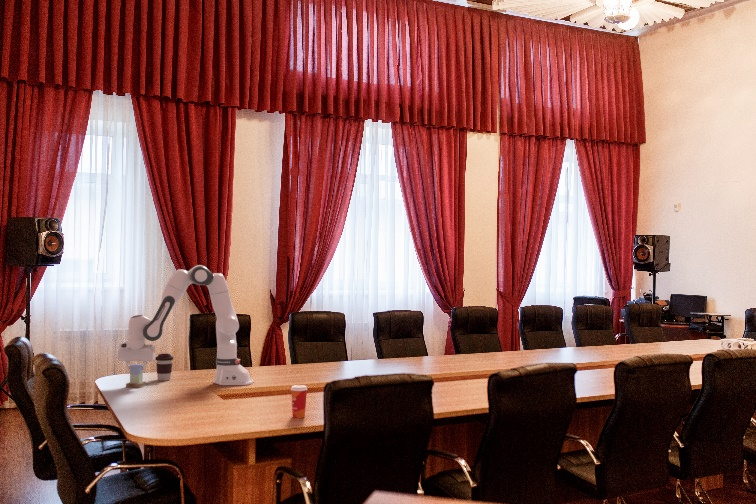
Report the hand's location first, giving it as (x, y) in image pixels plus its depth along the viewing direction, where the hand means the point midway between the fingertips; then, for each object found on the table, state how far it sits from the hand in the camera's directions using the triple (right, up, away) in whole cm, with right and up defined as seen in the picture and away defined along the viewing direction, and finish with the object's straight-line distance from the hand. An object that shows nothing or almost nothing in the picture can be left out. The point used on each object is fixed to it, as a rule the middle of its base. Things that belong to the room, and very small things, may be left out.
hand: (136, 369), depth 386 cm
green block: (0, -8, 0) cm, 8 cm away
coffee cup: (+9, -10, +20) cm, 25 cm away
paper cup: (+98, -11, -66) cm, 119 cm away
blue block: (0, -3, 0) cm, 3 cm away
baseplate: (0, -10, 0) cm, 10 cm away
